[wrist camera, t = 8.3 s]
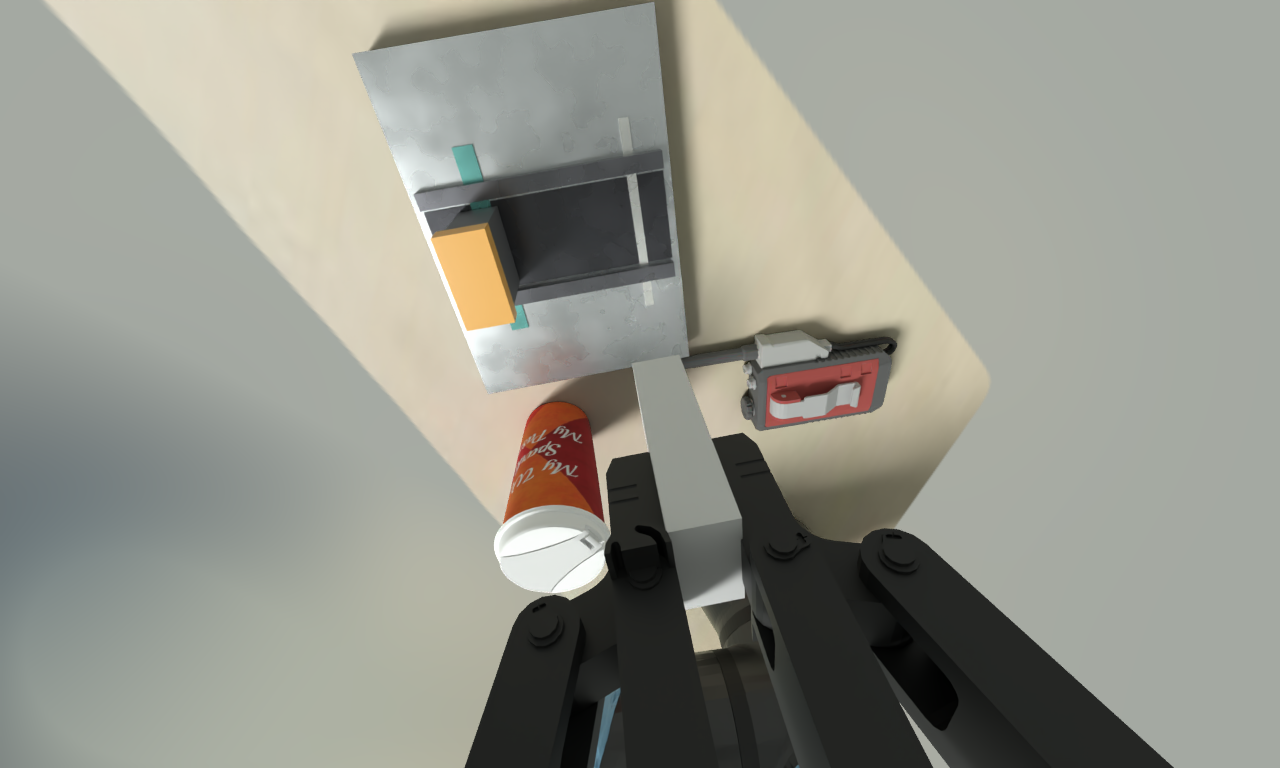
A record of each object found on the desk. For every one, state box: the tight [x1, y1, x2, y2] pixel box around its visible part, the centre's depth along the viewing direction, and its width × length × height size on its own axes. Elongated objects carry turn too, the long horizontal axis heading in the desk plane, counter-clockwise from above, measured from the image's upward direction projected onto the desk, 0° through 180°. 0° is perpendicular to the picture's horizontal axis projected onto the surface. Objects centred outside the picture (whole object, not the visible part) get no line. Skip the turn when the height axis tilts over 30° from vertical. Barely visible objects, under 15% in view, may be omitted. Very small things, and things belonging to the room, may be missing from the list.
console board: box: [352, 2, 689, 394], centre depth 32 cm, size 22×16×3 cm
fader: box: [430, 206, 520, 331], centre depth 28 cm, size 5×3×6 cm, turn 8°
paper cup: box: [494, 402, 610, 593], centre depth 36 cm, size 8×8×14 cm
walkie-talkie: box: [681, 330, 897, 431], centre depth 40 cm, size 9×4×20 cm
